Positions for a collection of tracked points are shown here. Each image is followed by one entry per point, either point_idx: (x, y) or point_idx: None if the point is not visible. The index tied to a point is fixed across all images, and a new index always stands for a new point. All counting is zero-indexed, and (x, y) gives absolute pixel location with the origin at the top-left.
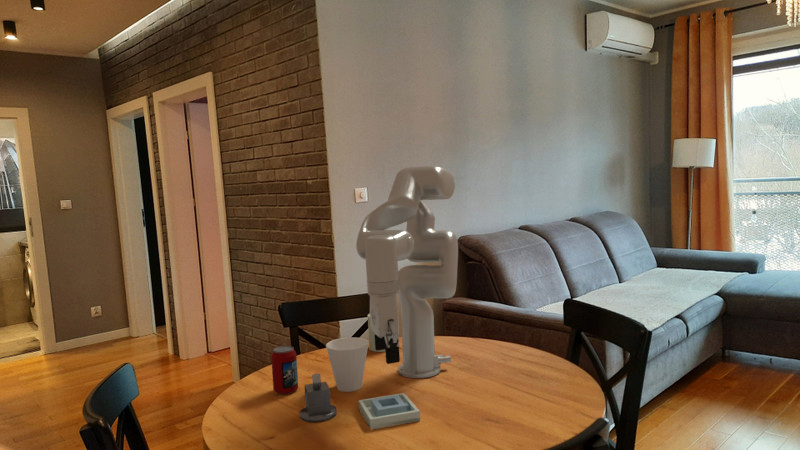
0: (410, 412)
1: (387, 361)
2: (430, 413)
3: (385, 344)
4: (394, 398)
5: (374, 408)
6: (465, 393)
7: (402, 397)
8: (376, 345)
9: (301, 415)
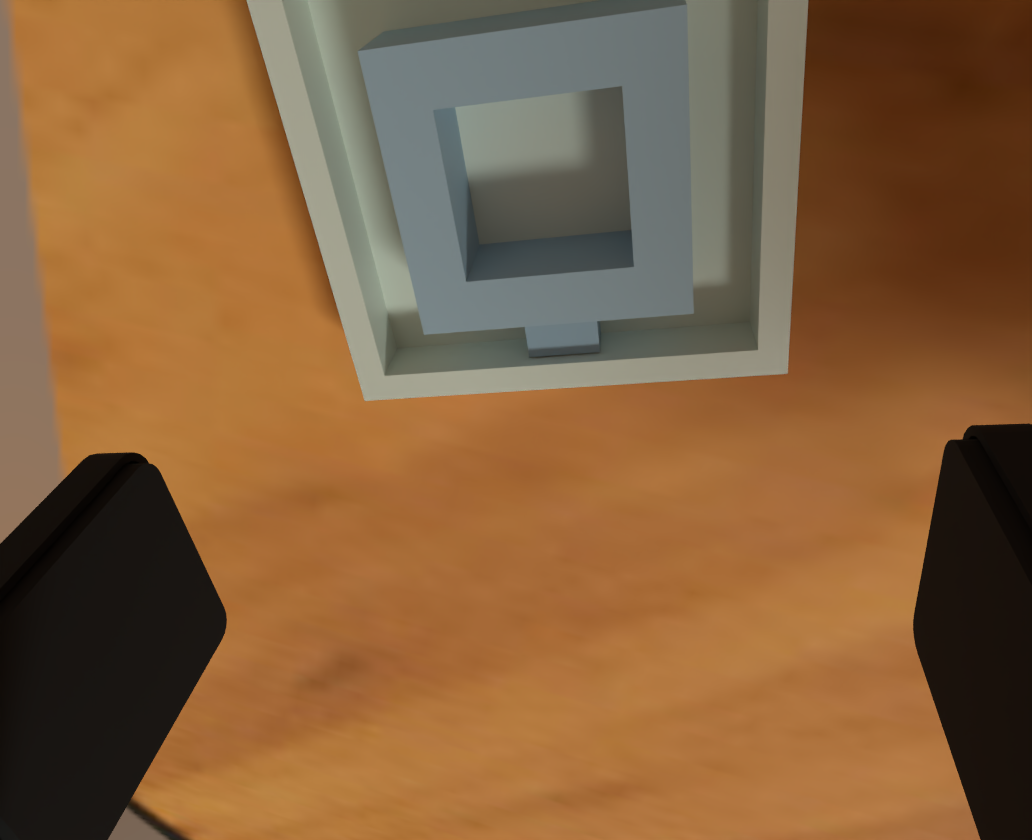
0: (345, 332)
1: (76, 486)
2: (495, 446)
3: (946, 683)
4: (622, 266)
5: (526, 20)
6: (737, 685)
7: (752, 336)
8: (989, 517)
9: None
